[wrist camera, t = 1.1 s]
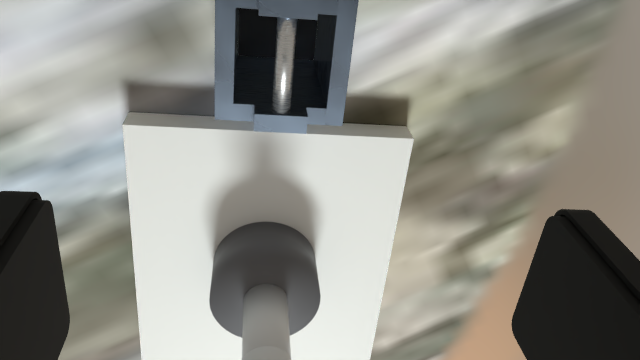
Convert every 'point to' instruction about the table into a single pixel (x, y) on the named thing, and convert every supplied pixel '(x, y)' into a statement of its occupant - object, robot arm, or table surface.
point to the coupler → (285, 66)
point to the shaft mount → (261, 236)
